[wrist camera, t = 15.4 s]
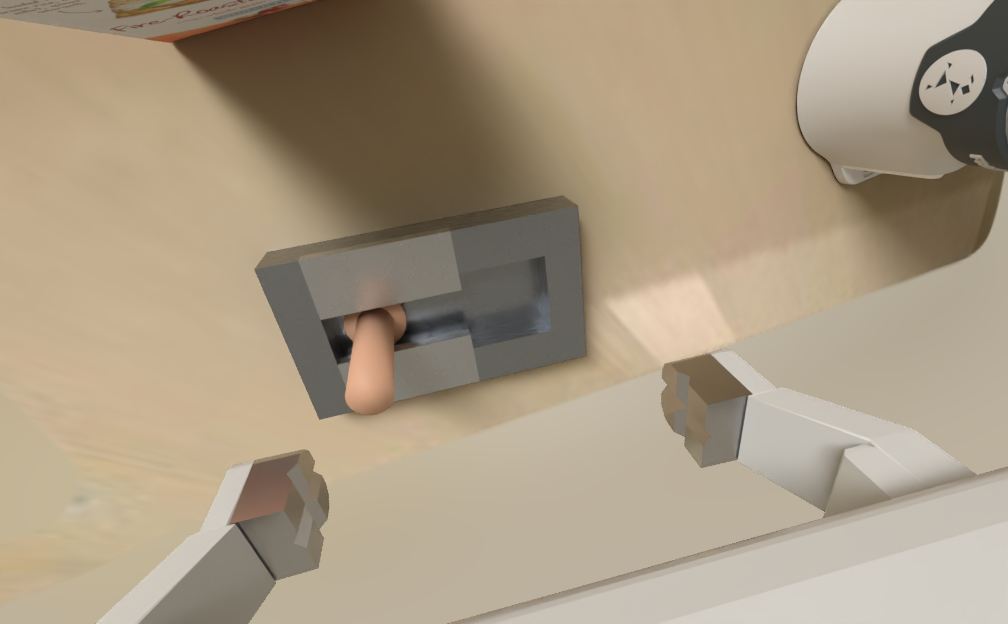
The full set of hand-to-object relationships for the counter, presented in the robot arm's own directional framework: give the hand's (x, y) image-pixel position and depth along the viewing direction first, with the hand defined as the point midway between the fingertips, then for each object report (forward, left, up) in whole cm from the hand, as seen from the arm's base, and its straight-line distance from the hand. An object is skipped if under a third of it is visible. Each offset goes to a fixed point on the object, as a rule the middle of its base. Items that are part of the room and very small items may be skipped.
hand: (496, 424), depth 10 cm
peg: (+6, +10, -28) cm, 30 cm away
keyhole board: (+1, +10, -28) cm, 30 cm away
